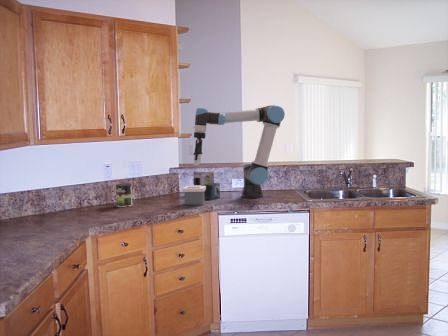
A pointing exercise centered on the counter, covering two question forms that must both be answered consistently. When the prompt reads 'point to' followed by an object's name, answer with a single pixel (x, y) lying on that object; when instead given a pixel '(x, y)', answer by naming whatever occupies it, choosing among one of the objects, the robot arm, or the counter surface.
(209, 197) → the small box
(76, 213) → the counter surface
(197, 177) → the cake pan box
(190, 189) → the lid
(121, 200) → the multicoloured piece
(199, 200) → the tub
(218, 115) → the robot arm
